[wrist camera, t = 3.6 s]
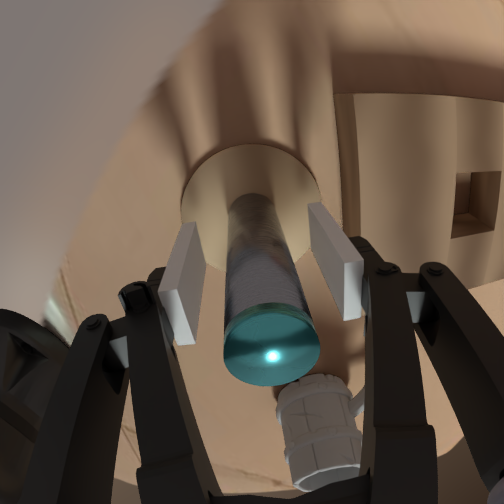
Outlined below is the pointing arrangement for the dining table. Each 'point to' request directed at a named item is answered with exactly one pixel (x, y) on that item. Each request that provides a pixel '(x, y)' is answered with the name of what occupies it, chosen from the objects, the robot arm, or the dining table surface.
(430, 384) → the dining table surface
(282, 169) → the coaster
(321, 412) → the mug
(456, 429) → the dining table surface
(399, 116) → the hole board
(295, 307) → the peg
